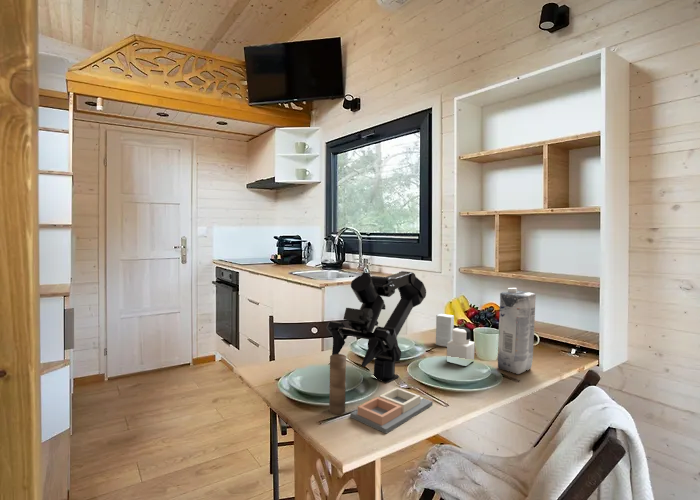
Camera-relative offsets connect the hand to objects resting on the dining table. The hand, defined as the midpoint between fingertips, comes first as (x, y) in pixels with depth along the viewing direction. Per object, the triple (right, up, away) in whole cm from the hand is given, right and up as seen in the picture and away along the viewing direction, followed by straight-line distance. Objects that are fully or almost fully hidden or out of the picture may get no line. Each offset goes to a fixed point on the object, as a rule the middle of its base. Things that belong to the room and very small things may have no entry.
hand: (347, 362), depth 104 cm
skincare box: (+38, -9, +54) cm, 67 cm away
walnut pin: (-3, -11, -3) cm, 12 cm away
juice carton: (+55, -11, +29) cm, 63 cm away
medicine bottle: (+39, -10, +35) cm, 53 cm away
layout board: (+11, -12, -3) cm, 17 cm away
